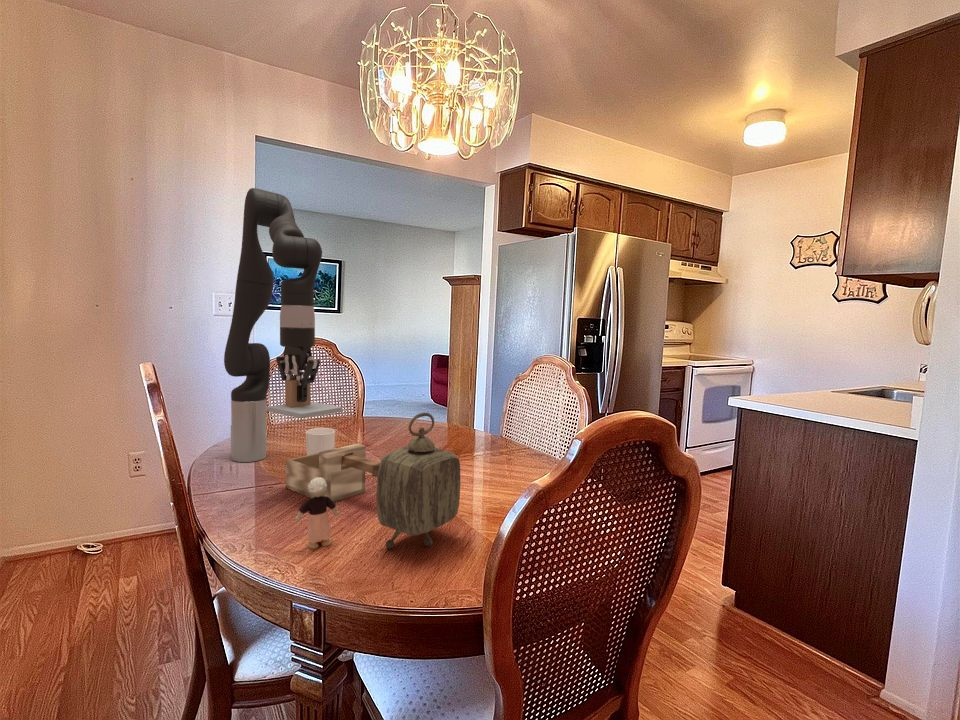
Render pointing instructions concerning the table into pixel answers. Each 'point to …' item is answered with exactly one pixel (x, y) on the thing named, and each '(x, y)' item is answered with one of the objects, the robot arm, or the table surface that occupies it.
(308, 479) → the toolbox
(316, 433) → the white cup
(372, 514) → the table surface
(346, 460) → the bar
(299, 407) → the lid
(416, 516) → the tabletop clock
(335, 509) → the grandmother figurine
